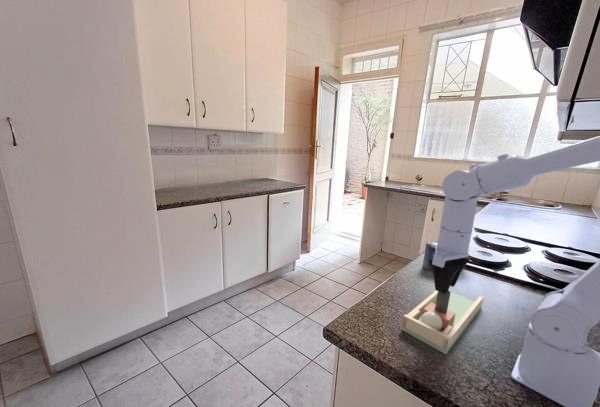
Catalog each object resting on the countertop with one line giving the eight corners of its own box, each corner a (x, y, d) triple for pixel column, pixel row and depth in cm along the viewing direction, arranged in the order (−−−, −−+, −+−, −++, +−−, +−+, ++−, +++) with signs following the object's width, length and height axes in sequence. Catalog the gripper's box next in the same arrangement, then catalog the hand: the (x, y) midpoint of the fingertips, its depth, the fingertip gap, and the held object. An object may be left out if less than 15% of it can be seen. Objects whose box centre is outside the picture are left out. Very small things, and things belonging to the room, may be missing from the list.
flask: (421, 268, 88) (426, 238, 85) (422, 265, 90) (427, 235, 88) (453, 276, 84) (459, 244, 81) (453, 272, 86) (459, 241, 84)
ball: (440, 336, 56) (447, 318, 56) (435, 335, 53) (442, 316, 53) (421, 326, 59) (427, 309, 59) (416, 325, 56) (422, 307, 56)
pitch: (481, 307, 67) (483, 295, 66) (445, 354, 51) (448, 338, 50) (443, 292, 74) (445, 281, 73) (401, 329, 58) (403, 315, 57)
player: (453, 323, 59) (459, 294, 57) (446, 331, 56) (452, 301, 54) (429, 311, 62) (434, 284, 61) (422, 318, 60) (427, 290, 58)
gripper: (447, 218, 63) (438, 271, 65) (421, 229, 53) (412, 291, 56) (482, 226, 57) (471, 283, 60) (460, 240, 48) (447, 306, 51)
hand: (445, 287), depth 58 cm, fingers open, 4 cm apart
